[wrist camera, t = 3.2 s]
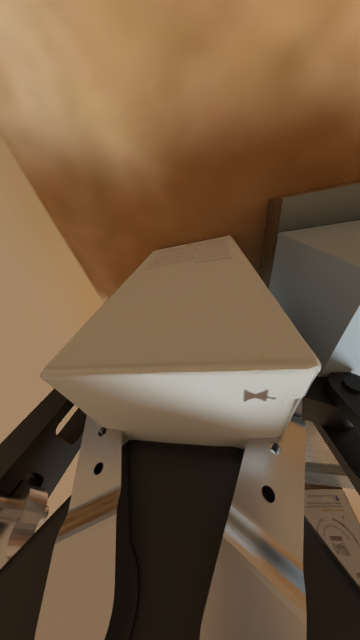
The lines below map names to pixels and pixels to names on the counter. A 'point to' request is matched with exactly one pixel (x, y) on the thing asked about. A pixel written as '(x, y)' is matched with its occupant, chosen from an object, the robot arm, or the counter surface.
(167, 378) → the small box
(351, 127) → the counter surface
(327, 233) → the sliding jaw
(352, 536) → the coffee box
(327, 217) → the vise bed
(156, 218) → the counter surface
